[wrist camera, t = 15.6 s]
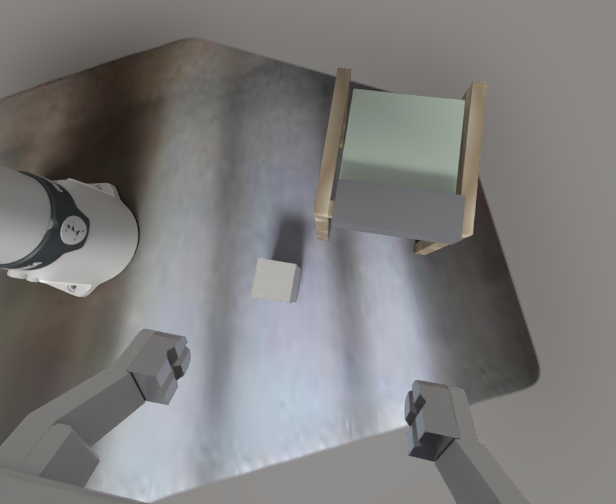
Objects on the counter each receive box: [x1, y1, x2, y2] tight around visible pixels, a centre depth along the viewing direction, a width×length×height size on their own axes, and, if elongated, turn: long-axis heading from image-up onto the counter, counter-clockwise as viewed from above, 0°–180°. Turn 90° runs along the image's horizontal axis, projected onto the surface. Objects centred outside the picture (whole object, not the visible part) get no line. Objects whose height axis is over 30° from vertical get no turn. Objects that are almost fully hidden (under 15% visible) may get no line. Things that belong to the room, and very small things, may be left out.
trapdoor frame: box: [314, 68, 487, 255], centre depth 40 cm, size 16×17×16 cm
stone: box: [251, 258, 302, 303], centre depth 43 cm, size 5×5×8 cm
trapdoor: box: [331, 89, 466, 245], centre depth 31 cm, size 12×16×4 cm
